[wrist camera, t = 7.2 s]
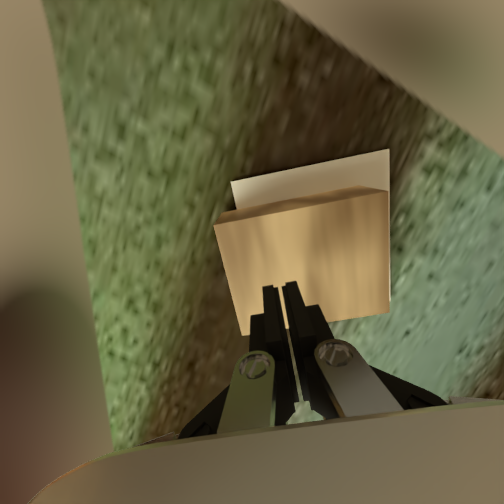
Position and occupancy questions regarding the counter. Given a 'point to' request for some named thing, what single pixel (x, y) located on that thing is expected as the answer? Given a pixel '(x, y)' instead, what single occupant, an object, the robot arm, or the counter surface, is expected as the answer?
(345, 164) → the plastic mat
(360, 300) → the wood block
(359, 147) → the counter surface
